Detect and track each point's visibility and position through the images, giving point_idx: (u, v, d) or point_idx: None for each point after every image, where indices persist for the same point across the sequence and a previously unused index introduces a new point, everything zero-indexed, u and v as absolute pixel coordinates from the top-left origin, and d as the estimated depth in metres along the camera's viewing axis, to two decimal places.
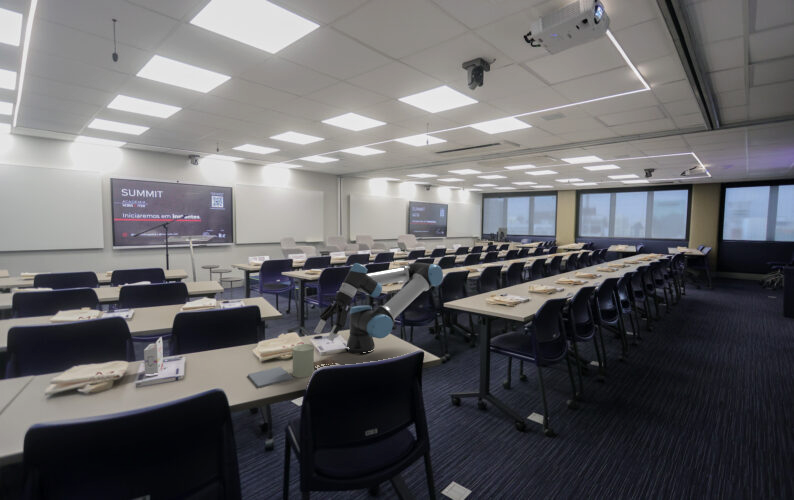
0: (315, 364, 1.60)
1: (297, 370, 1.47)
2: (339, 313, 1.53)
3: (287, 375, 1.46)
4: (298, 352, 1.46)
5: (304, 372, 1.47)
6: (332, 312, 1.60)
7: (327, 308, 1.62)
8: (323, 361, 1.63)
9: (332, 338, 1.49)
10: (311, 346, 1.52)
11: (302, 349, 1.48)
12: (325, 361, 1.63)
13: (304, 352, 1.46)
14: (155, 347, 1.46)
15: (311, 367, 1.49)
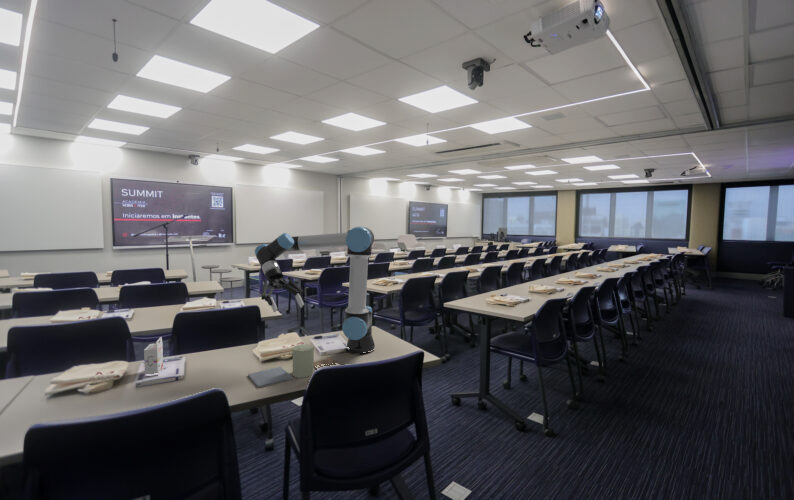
0: (315, 364, 1.60)
1: (297, 370, 1.47)
2: None
3: (287, 375, 1.46)
4: (298, 352, 1.46)
5: (304, 372, 1.47)
6: (286, 287, 1.64)
7: (291, 287, 1.68)
8: (323, 361, 1.63)
9: (274, 308, 1.51)
10: (311, 346, 1.52)
11: (302, 349, 1.48)
12: (325, 361, 1.63)
13: (304, 352, 1.46)
14: (155, 347, 1.46)
15: (311, 367, 1.49)
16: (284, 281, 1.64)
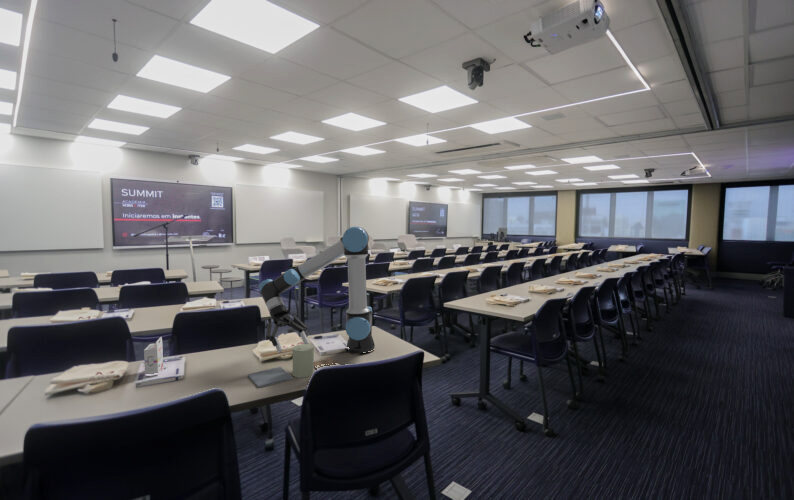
0: (315, 364, 1.60)
1: (297, 370, 1.47)
2: (274, 328, 1.56)
3: (287, 375, 1.46)
4: (298, 352, 1.46)
5: (304, 372, 1.47)
6: (291, 324, 1.61)
7: (296, 323, 1.65)
8: (323, 361, 1.63)
9: (278, 349, 1.48)
10: (311, 346, 1.52)
11: (302, 349, 1.48)
12: (325, 361, 1.63)
13: (304, 352, 1.46)
14: (155, 347, 1.46)
15: (311, 367, 1.49)
16: (289, 318, 1.60)
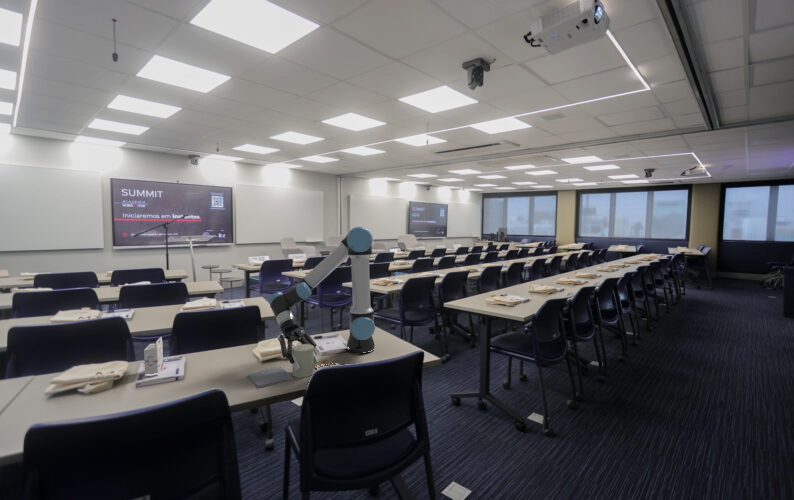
0: None
1: None
2: (288, 344, 1.52)
3: (287, 375, 1.46)
4: (298, 352, 1.46)
5: (304, 372, 1.47)
6: (301, 340, 1.56)
7: (306, 339, 1.59)
8: (323, 361, 1.63)
9: (296, 366, 1.45)
10: (311, 346, 1.52)
11: (302, 349, 1.48)
12: (325, 361, 1.63)
13: (304, 352, 1.46)
14: (155, 347, 1.46)
15: (311, 367, 1.49)
16: (299, 333, 1.56)
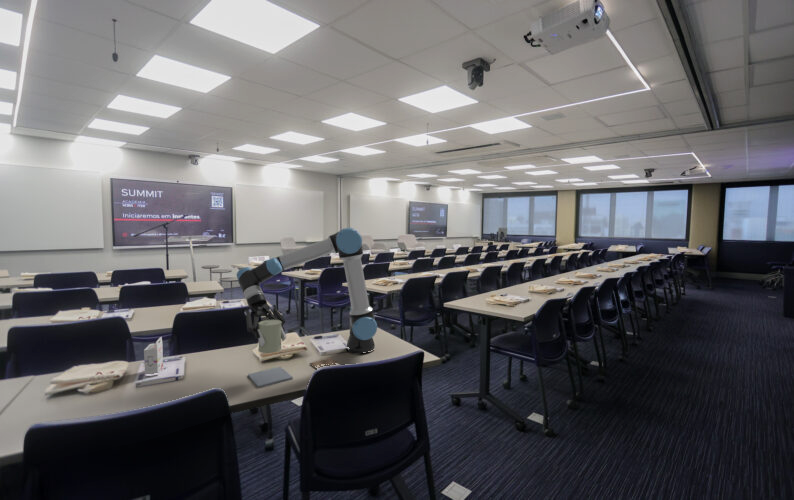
0: (315, 364, 1.60)
1: None
2: (254, 319, 1.46)
3: (287, 375, 1.46)
4: (264, 326, 1.40)
5: (270, 347, 1.41)
6: (269, 315, 1.50)
7: (275, 315, 1.54)
8: (323, 361, 1.63)
9: (261, 341, 1.39)
10: (278, 321, 1.46)
11: (268, 324, 1.42)
12: (325, 361, 1.63)
13: (270, 327, 1.41)
14: (155, 347, 1.46)
15: (278, 343, 1.44)
16: (267, 309, 1.50)
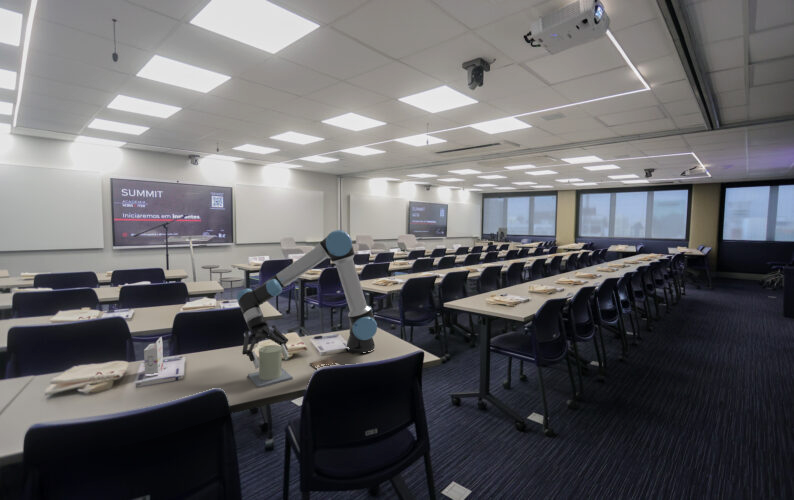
0: (315, 364, 1.60)
1: (263, 372, 1.42)
2: (252, 341, 1.46)
3: (287, 375, 1.46)
4: (264, 354, 1.41)
5: (271, 374, 1.42)
6: (270, 337, 1.51)
7: (276, 335, 1.55)
8: (323, 361, 1.63)
9: (256, 364, 1.39)
10: (279, 347, 1.47)
11: (269, 350, 1.43)
12: (325, 361, 1.63)
13: (271, 354, 1.42)
14: (155, 347, 1.46)
15: (278, 369, 1.44)
16: (268, 330, 1.51)
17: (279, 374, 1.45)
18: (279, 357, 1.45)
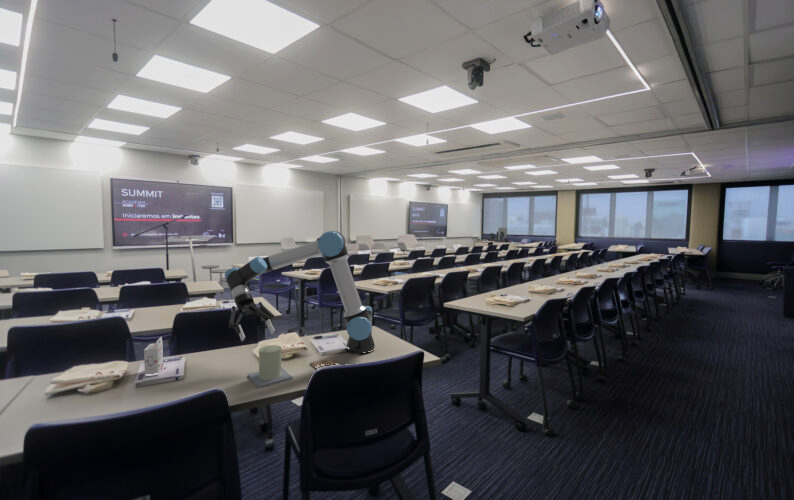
0: (315, 364, 1.60)
1: (263, 372, 1.42)
2: None
3: (287, 375, 1.46)
4: (264, 354, 1.41)
5: (271, 374, 1.42)
6: (257, 312, 1.58)
7: (262, 312, 1.62)
8: (323, 361, 1.63)
9: (242, 336, 1.46)
10: (279, 347, 1.47)
11: (269, 350, 1.43)
12: (325, 361, 1.63)
13: (271, 354, 1.42)
14: (155, 347, 1.46)
15: (278, 369, 1.44)
16: (254, 306, 1.58)
17: (279, 374, 1.45)
18: (279, 357, 1.45)
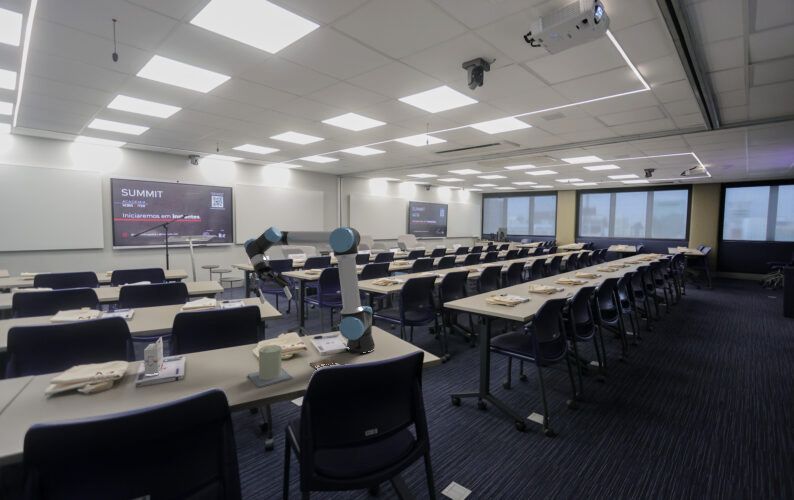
0: (315, 364, 1.60)
1: (263, 372, 1.42)
2: (258, 282, 1.63)
3: (287, 375, 1.46)
4: (264, 354, 1.41)
5: (271, 374, 1.42)
6: (275, 280, 1.68)
7: (280, 280, 1.72)
8: (323, 361, 1.63)
9: (262, 299, 1.56)
10: (279, 347, 1.47)
11: (269, 350, 1.43)
12: (325, 361, 1.63)
13: (271, 354, 1.42)
14: (155, 347, 1.46)
15: (278, 369, 1.44)
16: (272, 274, 1.68)
17: (279, 374, 1.45)
18: (279, 357, 1.45)
